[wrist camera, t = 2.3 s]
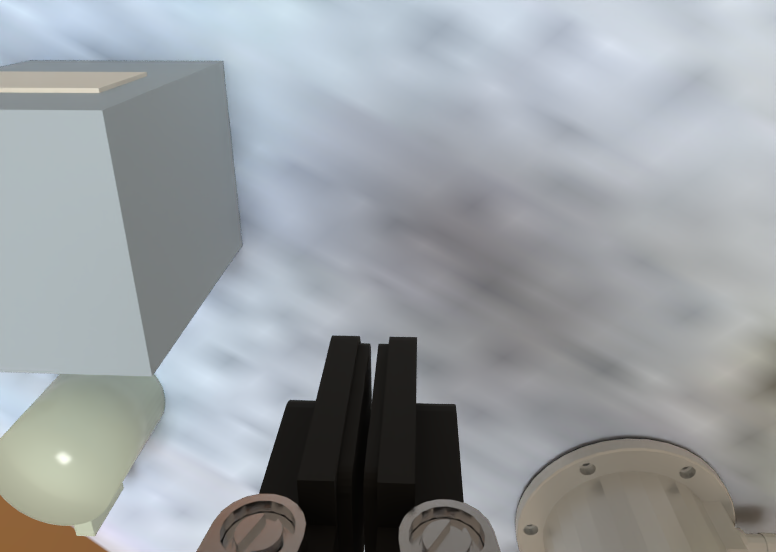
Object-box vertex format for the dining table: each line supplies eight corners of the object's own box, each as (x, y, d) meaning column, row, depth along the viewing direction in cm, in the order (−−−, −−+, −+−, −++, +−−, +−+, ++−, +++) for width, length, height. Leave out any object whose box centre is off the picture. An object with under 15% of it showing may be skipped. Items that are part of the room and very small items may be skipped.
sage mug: (156, 351, 36) (99, 431, 30) (177, 466, 39) (129, 559, 33) (52, 348, 36) (-27, 426, 30) (82, 462, 40) (16, 554, 33)
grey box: (222, 57, 29) (101, 105, 18) (242, 244, 33) (152, 376, 22) (30, 57, 30) (-201, 103, 19) (71, 241, 33) (-100, 369, 23)
